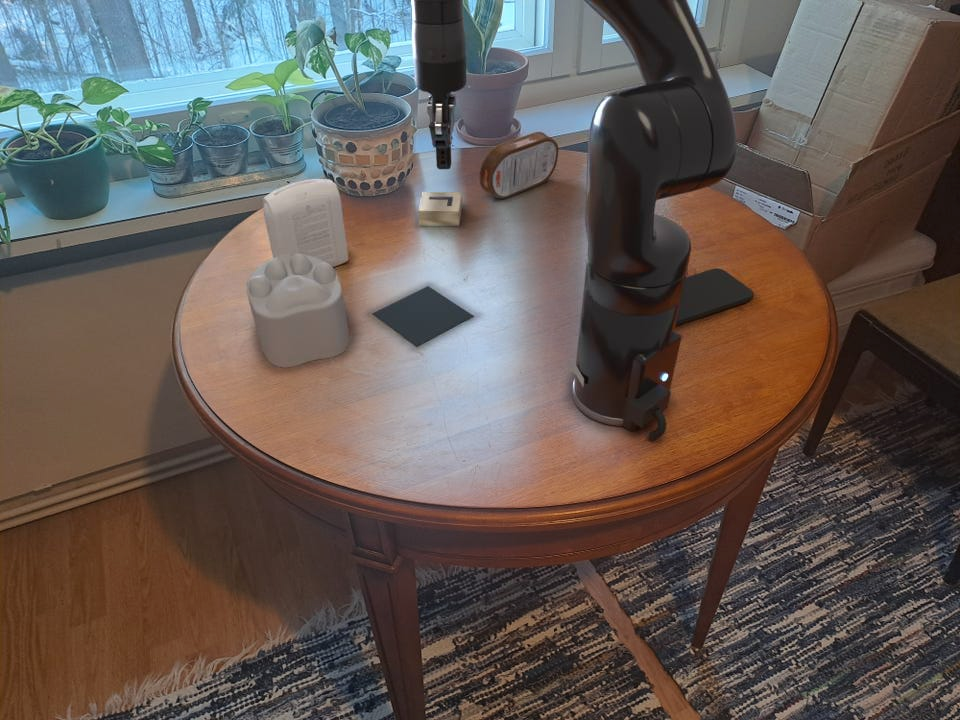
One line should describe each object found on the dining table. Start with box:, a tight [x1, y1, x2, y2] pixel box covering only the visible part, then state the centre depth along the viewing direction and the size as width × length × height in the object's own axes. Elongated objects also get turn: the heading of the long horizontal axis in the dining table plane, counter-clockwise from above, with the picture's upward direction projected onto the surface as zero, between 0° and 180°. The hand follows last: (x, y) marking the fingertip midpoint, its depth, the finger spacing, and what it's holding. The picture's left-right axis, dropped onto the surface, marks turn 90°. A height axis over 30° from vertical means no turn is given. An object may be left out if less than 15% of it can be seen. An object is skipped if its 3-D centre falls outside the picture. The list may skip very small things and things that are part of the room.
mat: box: [372, 285, 474, 347], centre depth 89 cm, size 9×9×1 cm
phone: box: [675, 268, 755, 327], centre depth 90 cm, size 7×1×15 cm
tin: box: [479, 131, 559, 199], centre depth 112 cm, size 15×3×8 cm, turn 130°
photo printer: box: [262, 178, 349, 268], centre depth 93 cm, size 10×4×12 cm, turn 123°
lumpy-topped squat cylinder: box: [246, 253, 351, 369], centre depth 84 cm, size 10×13×9 cm
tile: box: [417, 191, 463, 227], centre depth 107 cm, size 6×6×3 cm
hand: (444, 167), depth 111 cm, fingers closed
